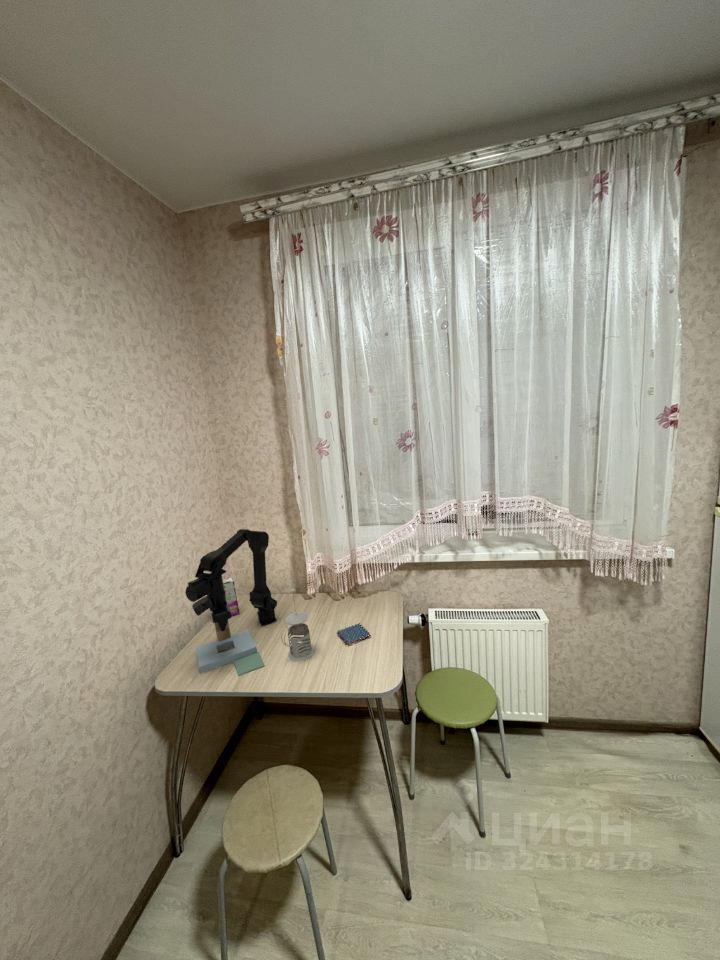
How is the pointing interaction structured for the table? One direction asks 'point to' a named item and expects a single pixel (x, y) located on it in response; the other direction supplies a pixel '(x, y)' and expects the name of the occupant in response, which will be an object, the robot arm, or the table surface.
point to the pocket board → (212, 659)
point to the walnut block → (222, 632)
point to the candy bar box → (231, 596)
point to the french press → (298, 628)
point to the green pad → (249, 663)
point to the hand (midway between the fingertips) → (222, 627)
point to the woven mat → (353, 634)
